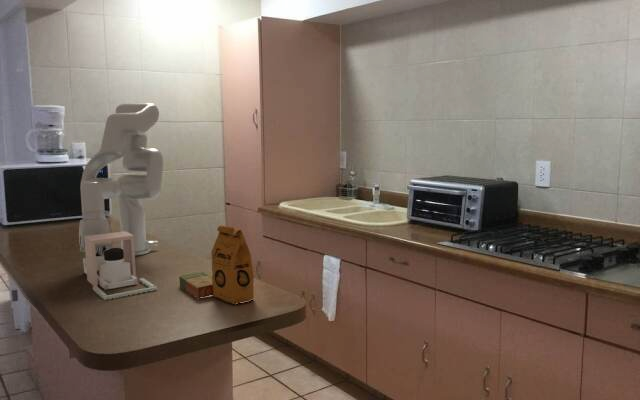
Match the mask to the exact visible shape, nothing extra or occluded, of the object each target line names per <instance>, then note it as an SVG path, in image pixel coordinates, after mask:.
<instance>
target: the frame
mask: <svg viewBox="0 0 640 400" xmlns="http://www.w3.org/2000/svg"><path fill="white" fill-rule="evenodd" d="M139 282H140V283H141V282H142V283H141V284H142V285H144V284H145V285H144V286H145V287H144V288H140V289H134V290H129V291H125V292H119V293H113V294H108V295H107V294H106V292H104V291H103V290H102V289H101V288H99V286H92V291H93V292H95V293H96V294H97V295H98V296H99V297H100V298H101V299H103V301H108V300H112V298H113V299H118V298H123V296H124V297H129V296H133V294H134V295H138V293H140V294H144V293H143V292H145V293H149V292H148V291H150V292H155V291H158V286H156V285H155V284H153V283H152V282H150V281H149V280H147V279H145V278H144V277H140V278H139ZM147 286H148V287H147ZM154 290H155V291H154ZM128 295H129V296H128ZM107 299H108V300H107Z"/></svg>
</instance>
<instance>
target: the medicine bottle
mask: <svg viewBox="0 0 640 400" xmlns="http://www.w3.org/2000/svg"><path fill="white" fill-rule="evenodd" d="M103 255H104V262H105V263H103V264H99V271H98V273H99V274H98V275H99V277H100V279H104V280H105V281H106V282H107V283H108V284H109V283H115V282H120V281H126V280H131V270H130V263H129V262H124V251H123V249H122V247H111V248H109V249H106V250H105V251H104V252H103Z"/></svg>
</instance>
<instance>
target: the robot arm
mask: <svg viewBox="0 0 640 400" xmlns="http://www.w3.org/2000/svg"><path fill="white" fill-rule="evenodd" d="M159 116H160V111H159V109H158V107H157V106H156V105H155V104H154V103H151V102H140V103H139V102H138V103H137V102H136V103H135V102H126V103H121V104H119V105H117V106H116V108H115V113H112V114H110V115H109V116H108V117H107V119H106V122H105V127H104V130H103V131H104V132H103V136H102V140H101V145H100V149H99V151H97V152H96V154H94V155H93V156H92V157H91V158H90V160H89V161H88V162H87V163H86V165H85V166H84V168H83V171H82V175H81V180H80V188H79V189H80V200H81V202H80V203H81V214H82V216H81V217H82V219H80V221H79V226H78V227H79V229H78V241H79V246H80V247H79V251H80V252H83V253H85V239H84V236H90V235H98V234H106V233H111V229H110V226H109V225H110V223H109V221H108V220H109V219H108V218H107V217H106V216H108V215H110V211H109V210H105V207H106V206H105V200H108V199H109V200H112V199H115V198H117V202H118V207H119V209H118V210H119V222H120V232H123V231H126V232H128V233H130V234H132V235H134V249H135V257H136V256H141V255H142V256H143V255H146V254H149V253H150V252H151V249H152V248H151V247H156V246H159V241H158V240H147V237H146V236H147V234H146V215H145V214H146V213H145V207H144V204H143V203H142V201H141V200H153V199H157V198H158V197H159V196H160V193H161V190H162V189H161V188H162V180H163V170H164V157H163V154H162V152H161V151H160V150H158V148H157V149H156V148H147V144H148V137H147V134H146V133H147V132H148V131H149V130H150V129H151V128H153V126H155V125H156V124H157V122H158V121H159ZM120 159H122V167H123V169H124V170H125V171H126V172H132V173H146V174H126V175H125V174H123V175H121V176H119V177H118V178H116V179H115V178H110V177H108V178H106V177H105V178H104V177H97V176H98V173H100V171H101V170H102V169H103V168H104V167H106V166H107V165H110V164H111V163H113V162H115V161H117V160H120ZM120 243H121V249H123V240H122V241H120ZM95 248H97V249H96V256H103V254H104V251H105V250H107V249H109V248H113V247H112V242H107V243H99V244H95Z"/></svg>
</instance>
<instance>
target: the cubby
mask: <svg viewBox="0 0 640 400" xmlns="http://www.w3.org/2000/svg"><path fill="white" fill-rule="evenodd" d="M84 239H85V252H84V253H85V258H86V268H87V274H86V278H87V279H86V281H87V282H88V283H89V284H90V285H92V287H94V286H97V287H99V284H98V281H97V275H98V271H97V266H96V254H97V250H96V247H95V244H99V243H107V242H111V243H112V242H113V243H114V242H121V241H122V240H123V251H124V262H129V263H130V270H131V274H132V275H133V276H135V277H136V278H137V268H136V267H137V266H136V256H135V249H134V235H132V234H130V233H128V232H126V231H123V232H121V231H115V232H110V233H106V234H98V235H90V236H84Z"/></svg>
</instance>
